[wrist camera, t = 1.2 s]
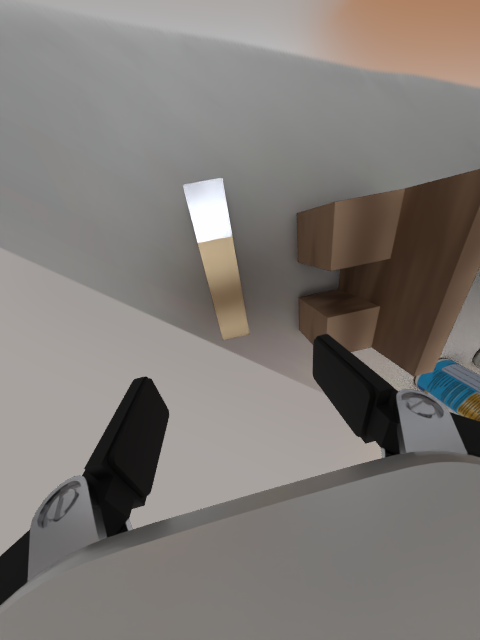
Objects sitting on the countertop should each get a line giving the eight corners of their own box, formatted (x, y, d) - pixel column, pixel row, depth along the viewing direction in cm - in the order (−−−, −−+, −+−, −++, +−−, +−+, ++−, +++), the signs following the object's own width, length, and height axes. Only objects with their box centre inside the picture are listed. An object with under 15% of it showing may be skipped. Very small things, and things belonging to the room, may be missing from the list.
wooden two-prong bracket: (362, 200, 20) (527, 158, 10) (347, 319, 27) (432, 371, 17) (297, 213, 20) (393, 184, 9) (299, 330, 27) (355, 390, 16)
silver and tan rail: (192, 200, 18) (182, 184, 13) (219, 195, 18) (222, 177, 13) (221, 317, 24) (223, 340, 19) (241, 313, 24) (249, 334, 19)
